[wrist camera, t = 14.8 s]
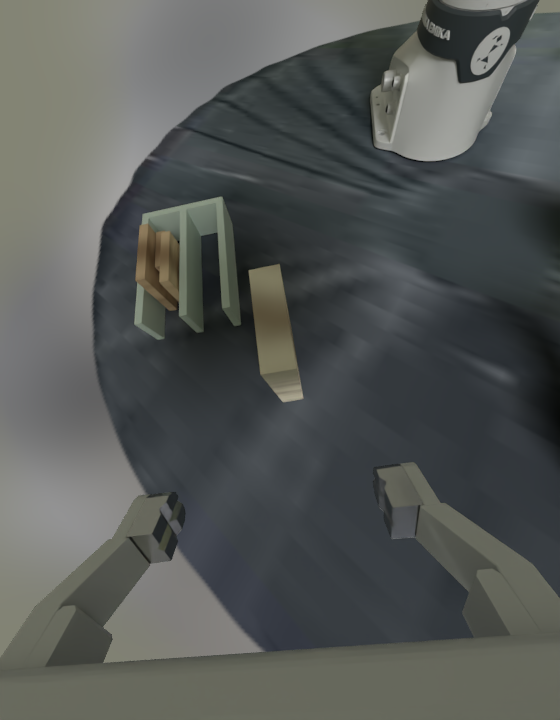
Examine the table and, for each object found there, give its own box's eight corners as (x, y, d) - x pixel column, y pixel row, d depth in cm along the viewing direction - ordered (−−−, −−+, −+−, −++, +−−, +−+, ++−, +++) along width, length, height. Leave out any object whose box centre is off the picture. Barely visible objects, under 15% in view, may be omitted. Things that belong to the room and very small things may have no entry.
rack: (162, 239, 41) (142, 214, 36) (232, 224, 40) (222, 196, 35) (158, 339, 35) (134, 324, 30) (241, 325, 34) (229, 306, 29)
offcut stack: (170, 263, 39) (139, 225, 32) (193, 258, 39) (167, 219, 32) (169, 313, 36) (135, 283, 29) (194, 309, 36) (166, 277, 29)
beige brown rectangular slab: (273, 337, 33) (248, 270, 20) (292, 334, 33) (279, 263, 19) (283, 402, 30) (260, 374, 17) (303, 398, 30) (296, 368, 16)
